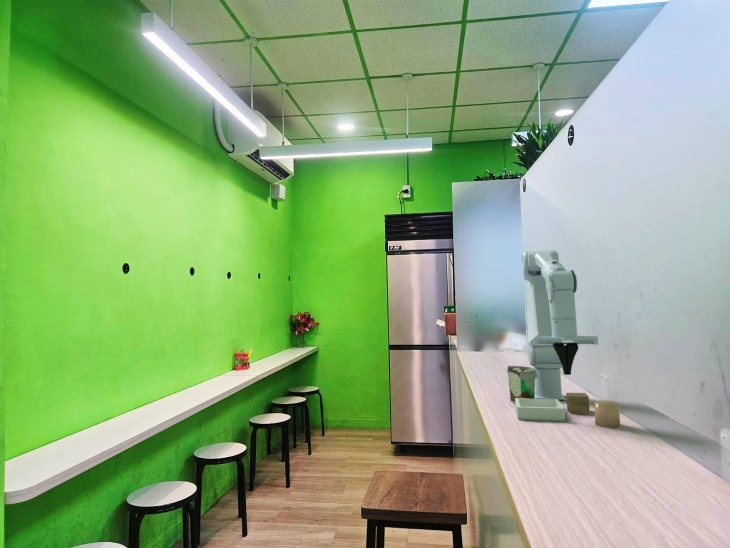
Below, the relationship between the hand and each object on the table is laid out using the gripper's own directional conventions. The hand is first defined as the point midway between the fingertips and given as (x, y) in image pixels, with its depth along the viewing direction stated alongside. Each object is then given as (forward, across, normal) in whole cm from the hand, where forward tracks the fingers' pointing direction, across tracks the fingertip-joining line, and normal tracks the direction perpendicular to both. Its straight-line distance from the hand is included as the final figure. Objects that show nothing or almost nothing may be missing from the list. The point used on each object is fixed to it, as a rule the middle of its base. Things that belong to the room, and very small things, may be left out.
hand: (567, 374), depth 107 cm
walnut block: (+11, +3, +7) cm, 13 cm away
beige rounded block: (+11, +7, -5) cm, 14 cm away
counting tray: (+10, -7, +2) cm, 13 cm away
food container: (+11, -9, +14) cm, 20 cm away
